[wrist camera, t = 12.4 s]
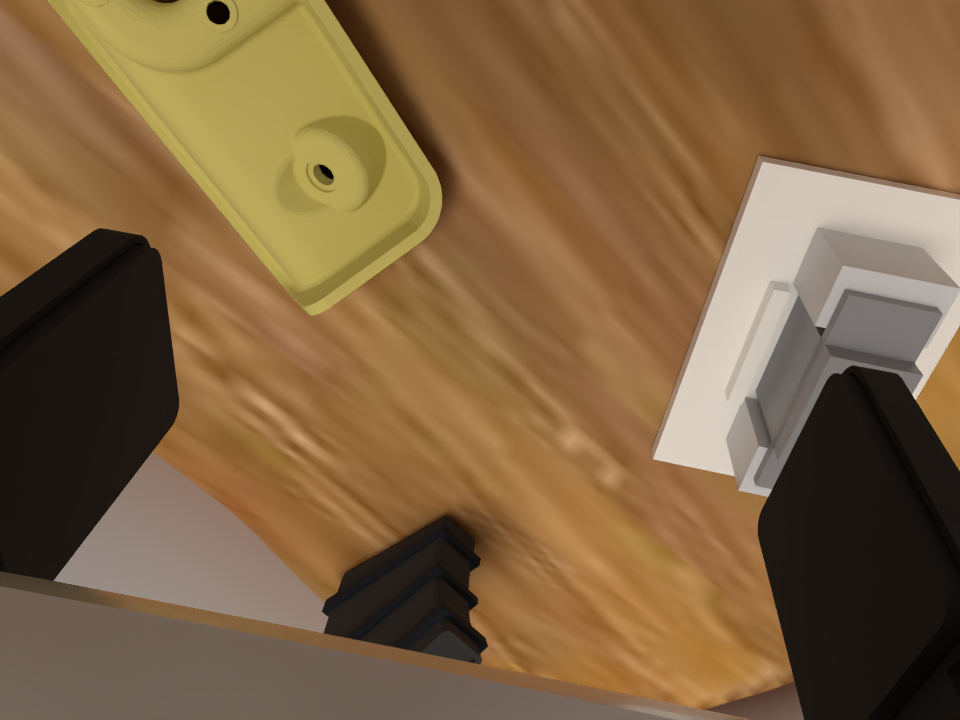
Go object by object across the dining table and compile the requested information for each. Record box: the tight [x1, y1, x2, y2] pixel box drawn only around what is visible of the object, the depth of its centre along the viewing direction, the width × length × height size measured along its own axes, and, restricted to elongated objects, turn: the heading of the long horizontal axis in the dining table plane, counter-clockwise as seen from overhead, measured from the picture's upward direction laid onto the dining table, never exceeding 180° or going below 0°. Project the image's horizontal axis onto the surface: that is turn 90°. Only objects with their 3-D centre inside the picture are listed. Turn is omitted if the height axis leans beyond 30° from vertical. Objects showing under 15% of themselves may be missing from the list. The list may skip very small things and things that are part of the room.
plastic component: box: [47, 0, 442, 316], centre depth 34 cm, size 20×7×10 cm
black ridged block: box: [322, 516, 488, 664], centre depth 47 cm, size 4×13×15 cm, turn 131°
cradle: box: [652, 156, 960, 497], centre depth 37 cm, size 18×12×5 cm, turn 171°
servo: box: [753, 289, 943, 489], centre depth 35 cm, size 11×4×7 cm, turn 171°
